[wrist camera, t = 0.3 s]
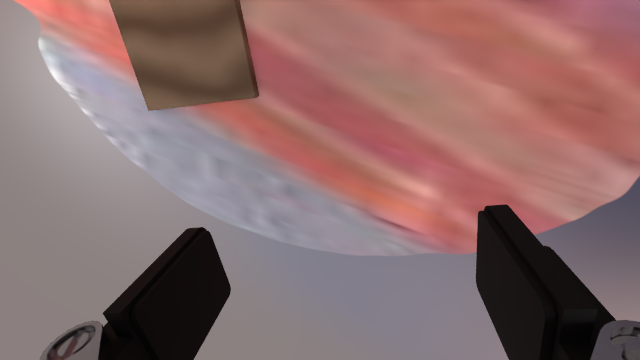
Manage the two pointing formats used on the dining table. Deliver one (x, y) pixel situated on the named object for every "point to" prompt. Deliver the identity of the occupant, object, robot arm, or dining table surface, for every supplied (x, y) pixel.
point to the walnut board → (187, 50)
